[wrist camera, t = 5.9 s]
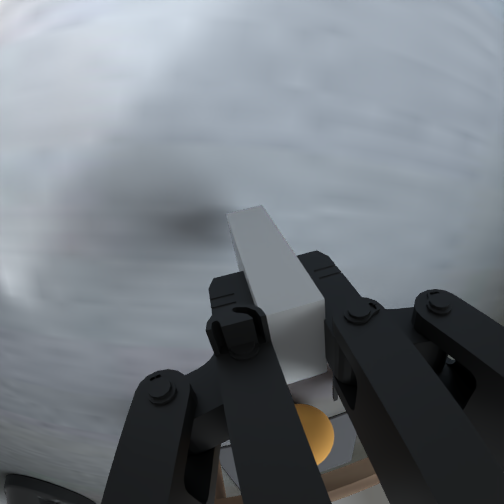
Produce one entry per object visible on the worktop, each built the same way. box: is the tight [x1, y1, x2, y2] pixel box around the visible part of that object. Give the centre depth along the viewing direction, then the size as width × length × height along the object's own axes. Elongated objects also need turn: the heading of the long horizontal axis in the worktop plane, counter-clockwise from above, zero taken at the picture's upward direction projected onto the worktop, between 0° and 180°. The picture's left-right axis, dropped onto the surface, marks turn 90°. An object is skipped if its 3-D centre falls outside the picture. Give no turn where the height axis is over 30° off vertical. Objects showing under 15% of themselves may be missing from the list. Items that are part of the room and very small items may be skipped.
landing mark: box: [219, 412, 357, 489], centre depth 28 cm, size 14×14×1 cm
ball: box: [295, 404, 334, 465], centre depth 21 cm, size 6×6×6 cm
